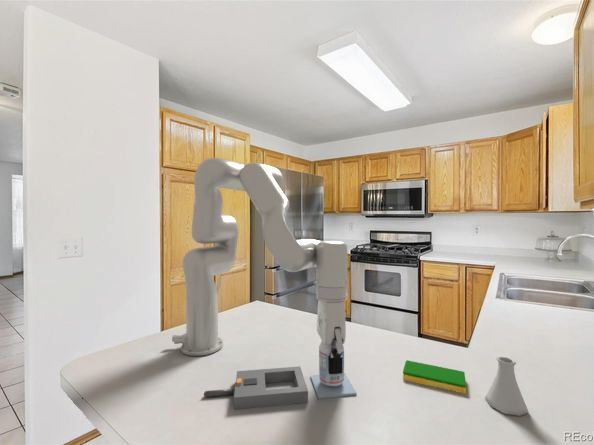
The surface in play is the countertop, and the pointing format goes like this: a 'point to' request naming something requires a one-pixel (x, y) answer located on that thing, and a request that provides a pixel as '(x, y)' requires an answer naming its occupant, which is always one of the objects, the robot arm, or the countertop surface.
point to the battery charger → (254, 391)
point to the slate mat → (332, 388)
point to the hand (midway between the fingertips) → (331, 365)
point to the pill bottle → (323, 367)
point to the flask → (506, 390)
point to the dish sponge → (435, 376)
